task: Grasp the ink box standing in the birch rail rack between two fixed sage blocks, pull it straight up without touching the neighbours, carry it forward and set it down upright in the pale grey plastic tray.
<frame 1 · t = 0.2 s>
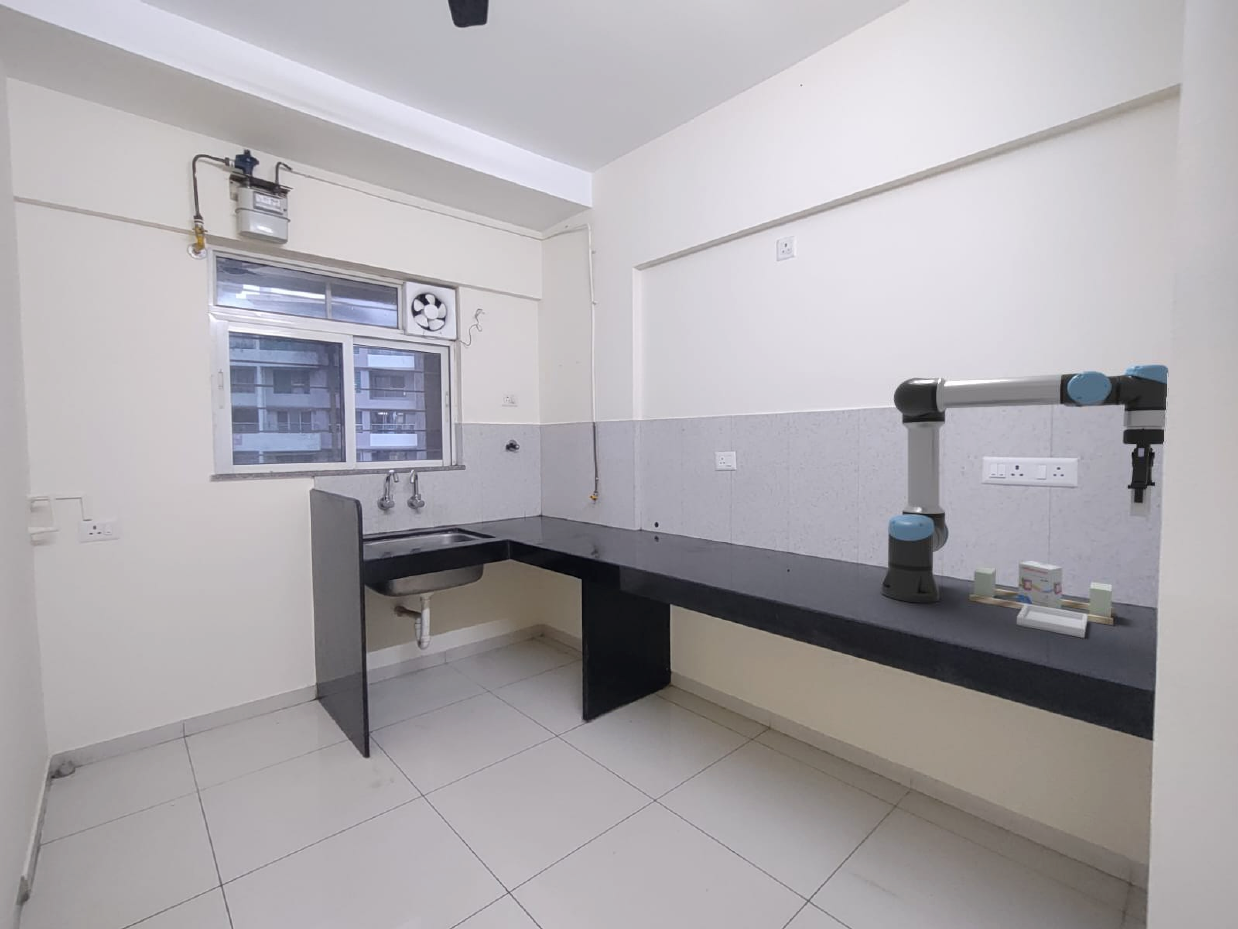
hand: (1140, 513, 131), 28 cm above the table, fingers open, 13 cm apart
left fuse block: (984, 597, 154), on the table
rail rack: (1038, 606, 145), on the table
tray: (1052, 623, 132), on the table
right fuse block: (1100, 616, 137), on the table
ink box: (1038, 607, 145), on the table
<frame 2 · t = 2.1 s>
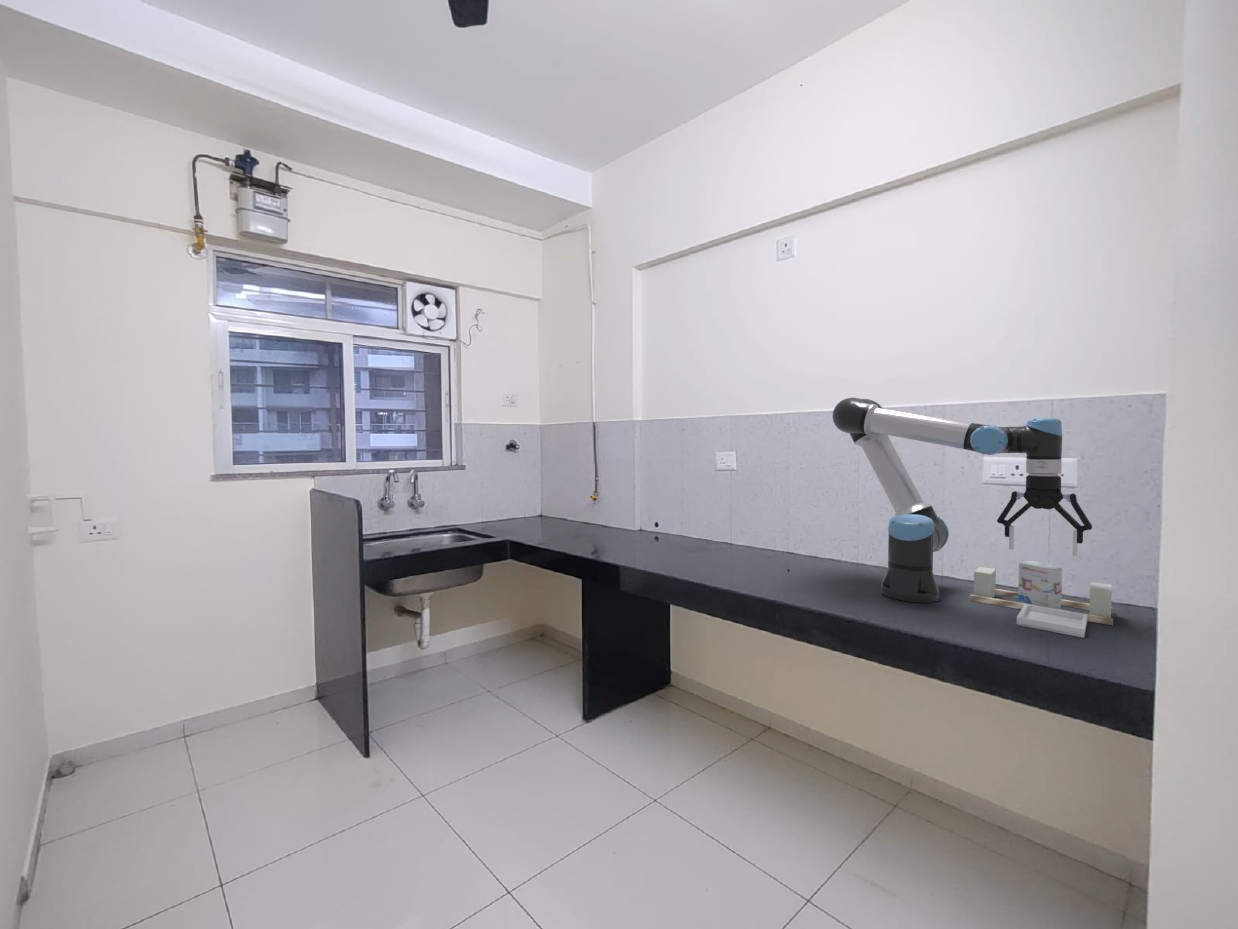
hand: (1042, 552, 144), 15 cm above the table, fingers open, 13 cm apart
nothing on the table moved.
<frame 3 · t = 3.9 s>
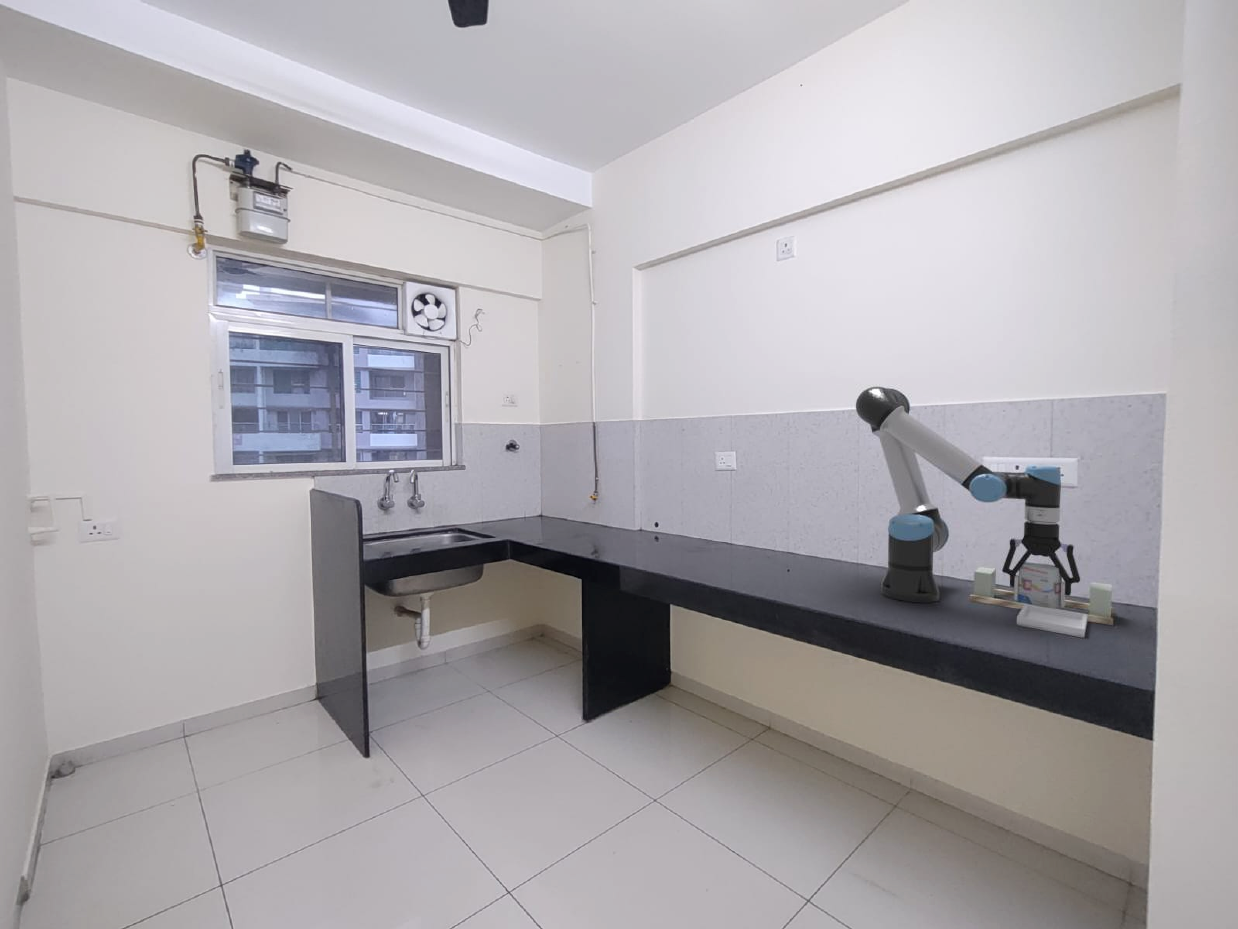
hand: (1039, 602, 145), 1 cm above the table, fingers closed on ink box, 9 cm apart
ink box: (1038, 607, 145), on the table, touching gripper
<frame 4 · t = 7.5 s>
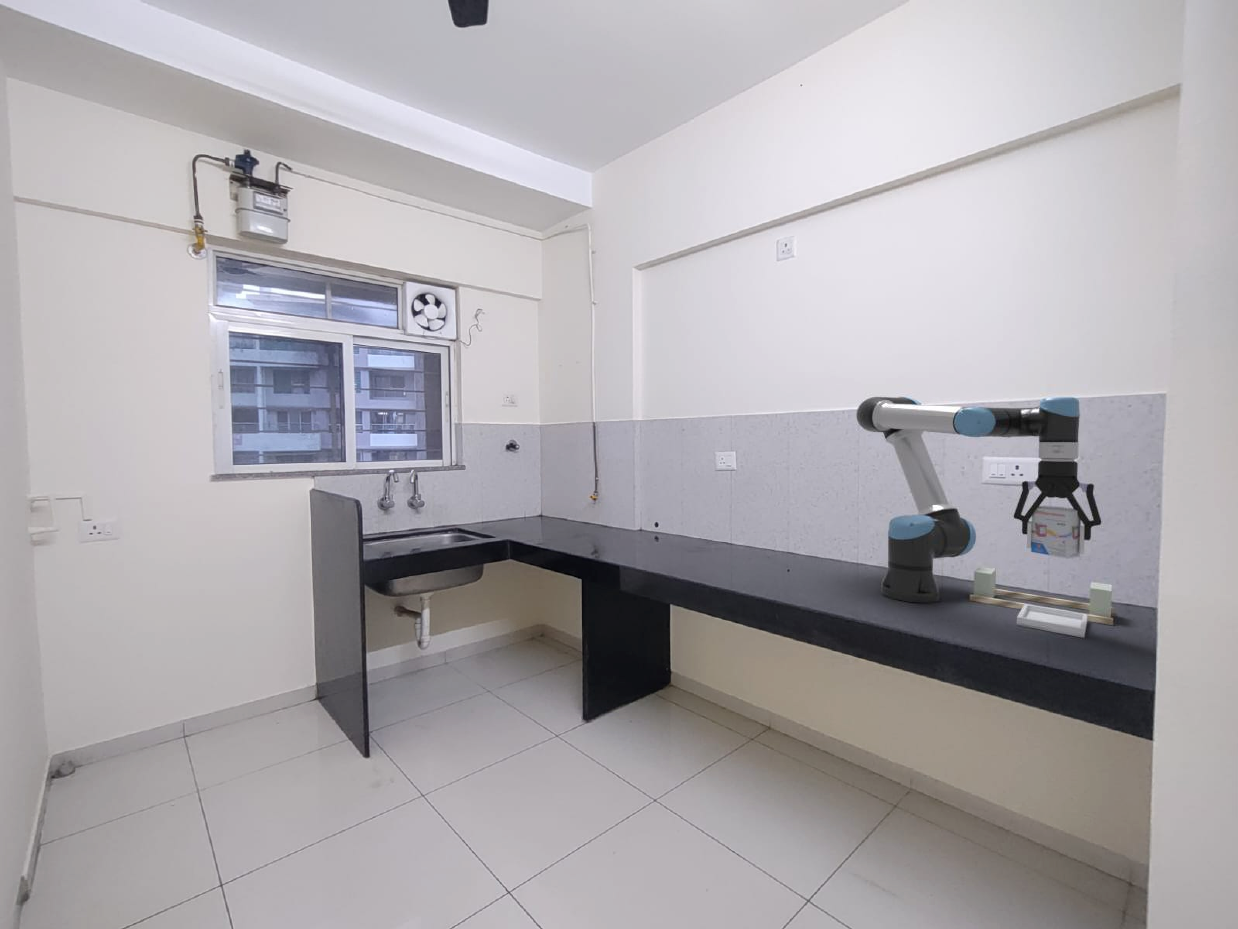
hand: (1054, 550, 131), 19 cm above the table, fingers closed on ink box, 9 cm apart
ink box: (1054, 555, 131), point 17 cm above the table, touching gripper
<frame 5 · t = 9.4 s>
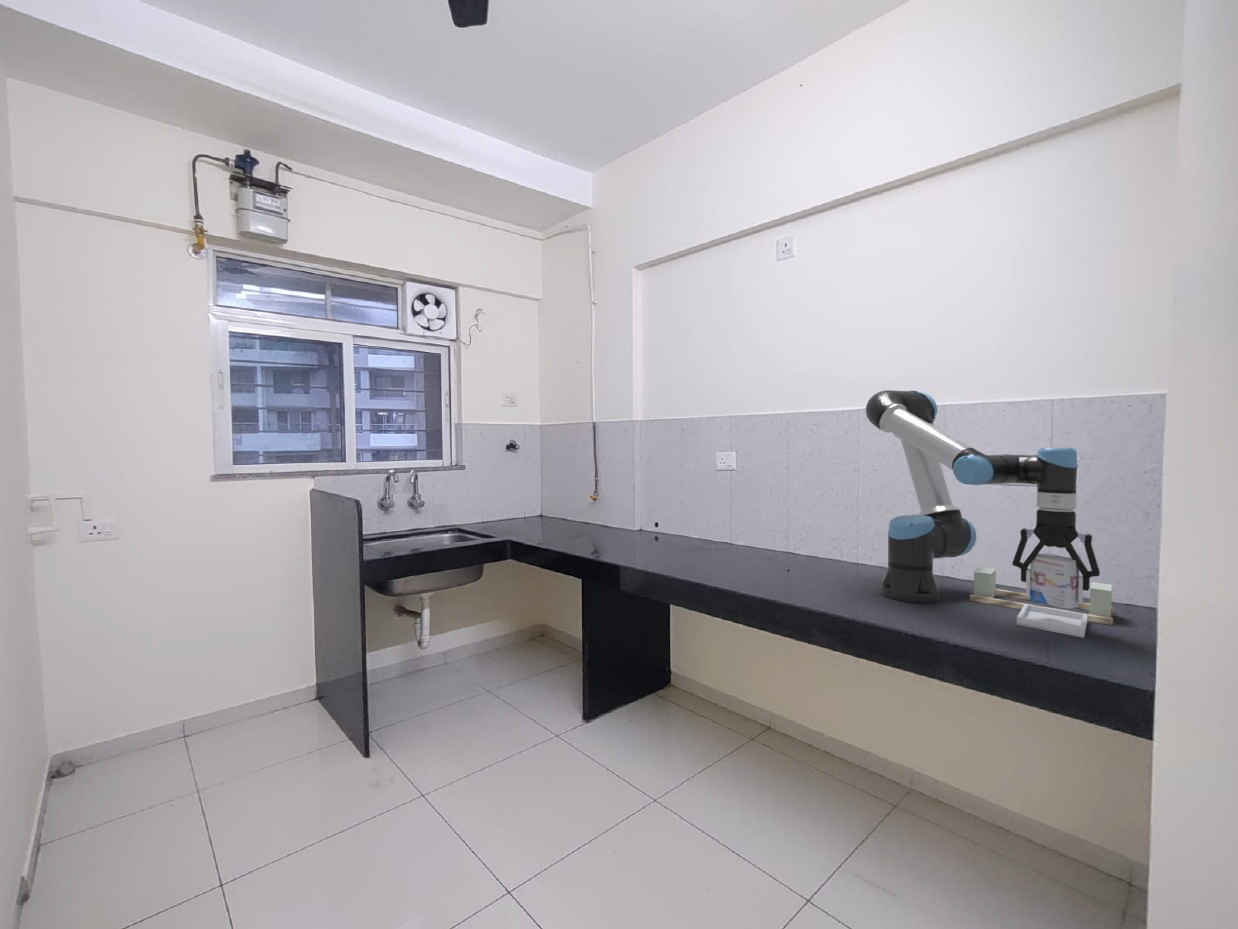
hand: (1053, 598, 131), 6 cm above the table, fingers closed on ink box, 9 cm apart
ink box: (1053, 604, 131), point 5 cm above the table, touching gripper
when the fingers open (3 cm above the table, at t = 11.0 s): ink box drops 2 cm, resting on tray.
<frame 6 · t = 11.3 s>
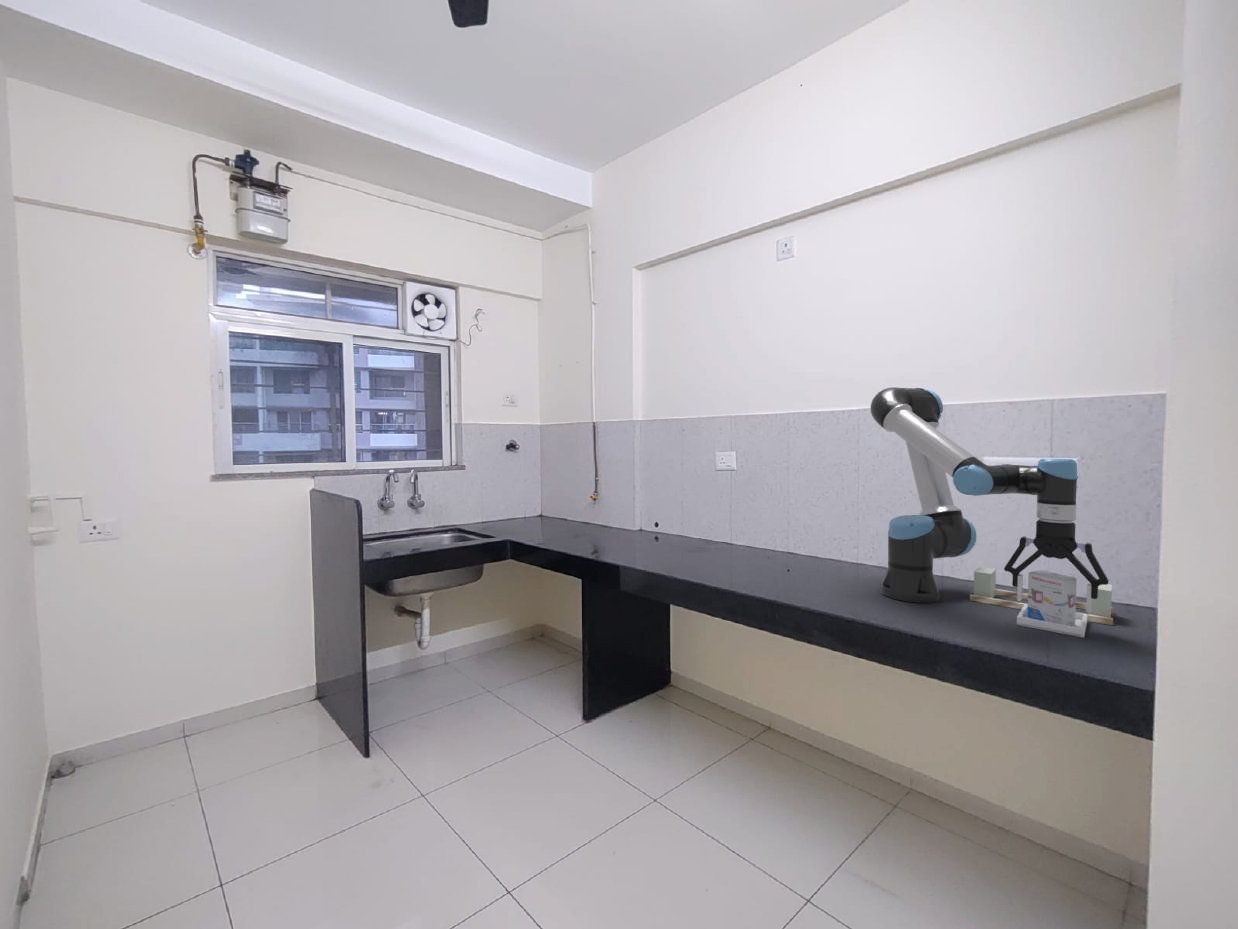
hand: (1052, 605, 132), 5 cm above the table, fingers open, 13 cm apart
ink box: (1050, 621, 132), resting on tray
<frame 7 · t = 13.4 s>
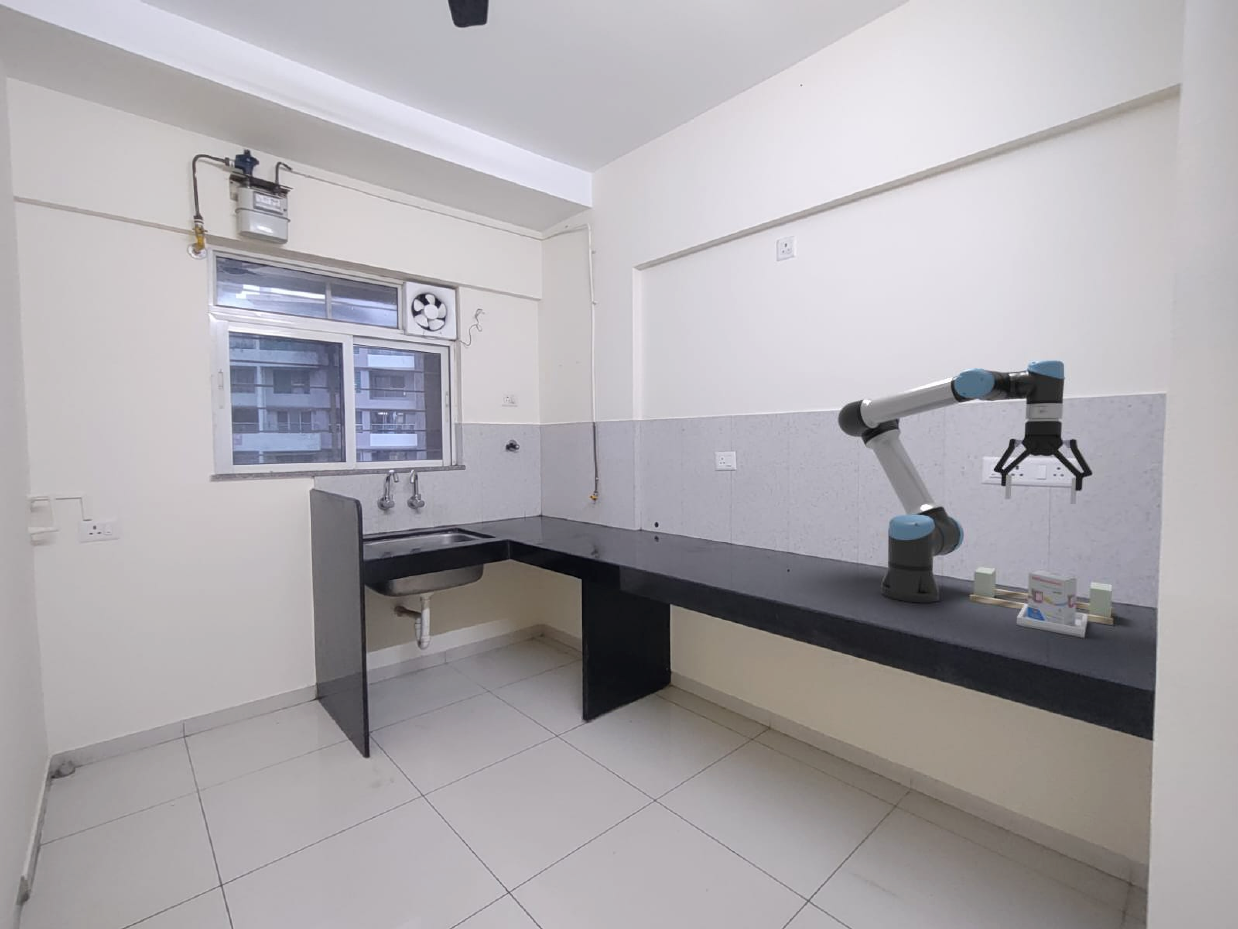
hand: (1039, 501, 139), 30 cm above the table, fingers open, 13 cm apart
nothing on the table moved.
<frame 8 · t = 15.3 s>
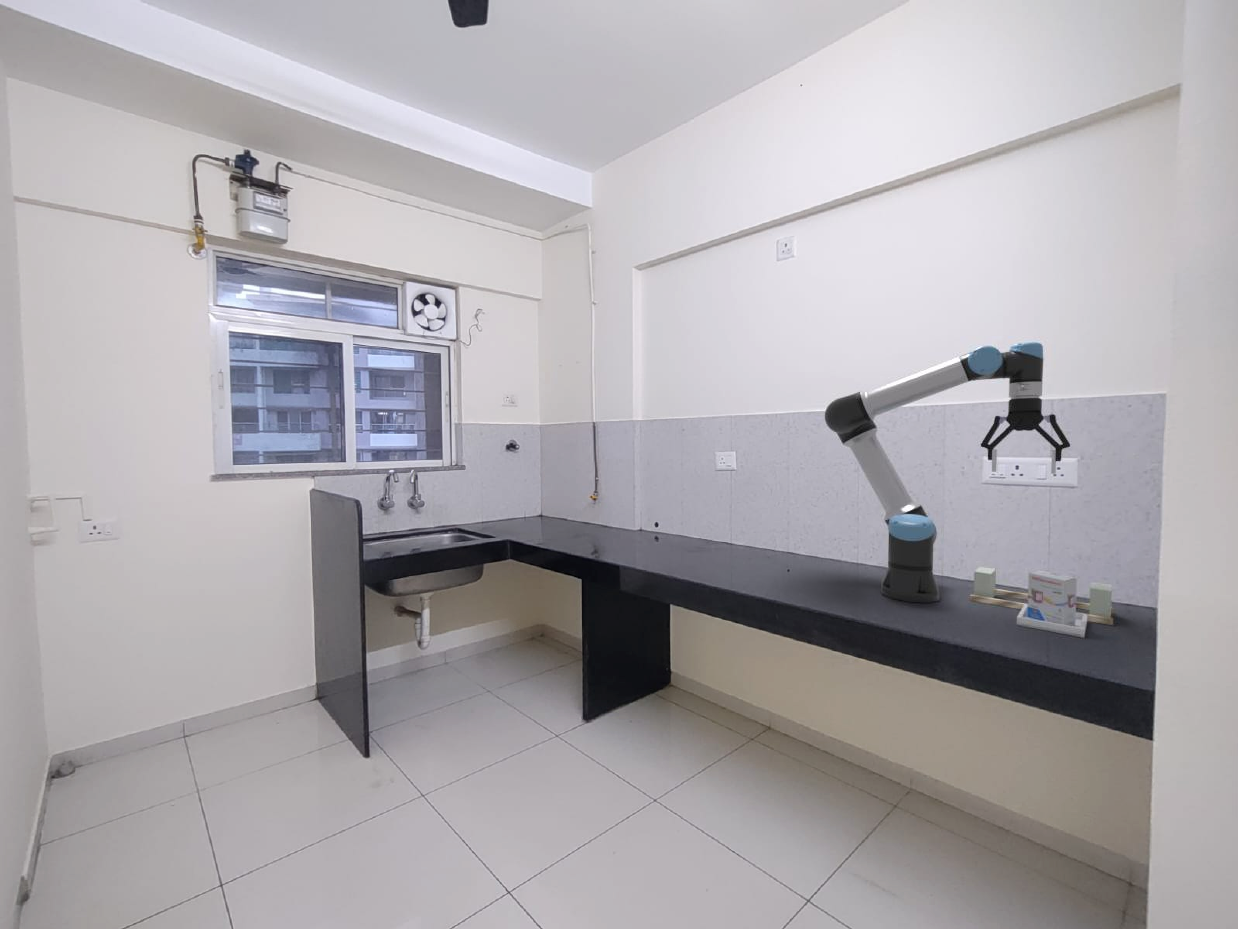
hand: (1022, 472, 151), 37 cm above the table, fingers open, 13 cm apart
nothing on the table moved.
at the end: ink box inside the target area on the tray (0.4 cm from its centre), point 0.4 cm above the tray's base; ink box tilted 0°; the gripper is holding nothing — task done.
